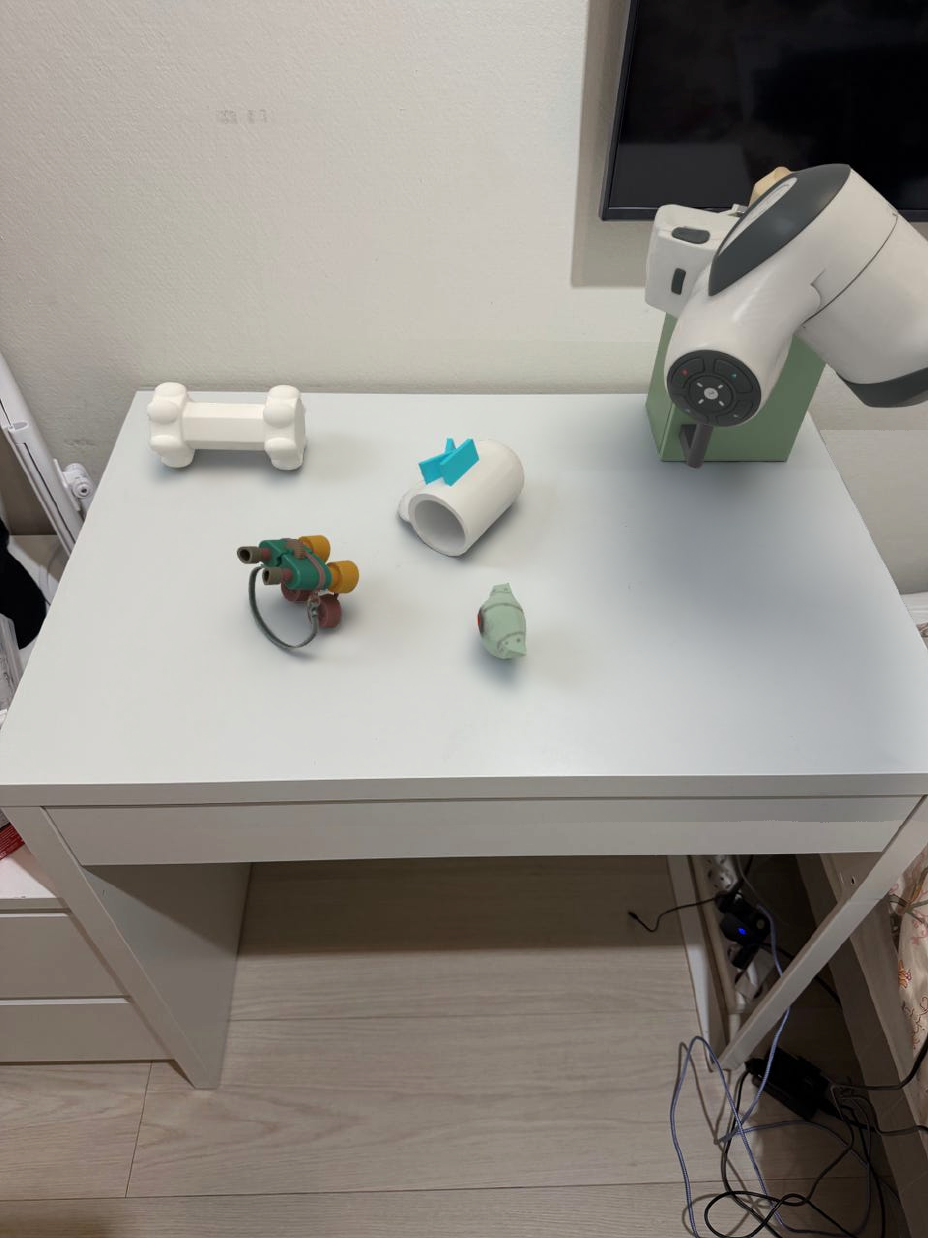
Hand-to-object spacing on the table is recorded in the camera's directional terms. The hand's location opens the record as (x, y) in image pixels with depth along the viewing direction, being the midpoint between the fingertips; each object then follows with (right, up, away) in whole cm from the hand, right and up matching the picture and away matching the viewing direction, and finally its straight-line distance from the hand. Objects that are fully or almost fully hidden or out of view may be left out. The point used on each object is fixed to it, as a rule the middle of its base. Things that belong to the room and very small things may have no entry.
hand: (775, 220), depth 79 cm
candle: (0, -4, +4) cm, 6 cm away
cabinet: (-1, -16, +18) cm, 24 cm away
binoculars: (-44, -37, -1) cm, 57 cm away
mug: (-30, -26, +8) cm, 41 cm away
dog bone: (-54, -20, +13) cm, 59 cm away
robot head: (-26, -40, -3) cm, 48 cm away
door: (-1, -22, +12) cm, 25 cm away
